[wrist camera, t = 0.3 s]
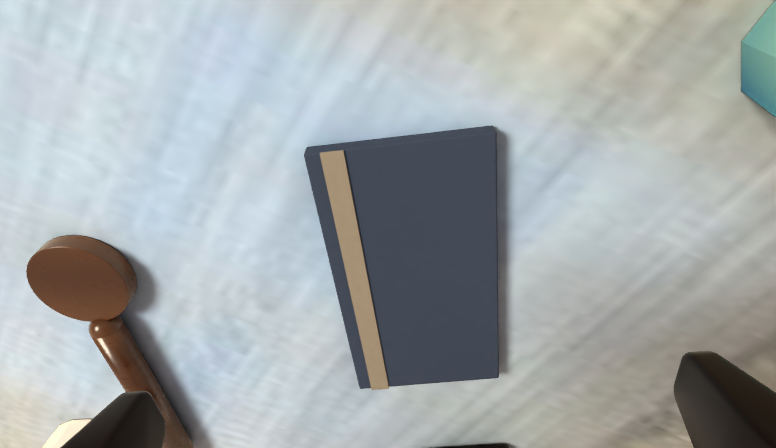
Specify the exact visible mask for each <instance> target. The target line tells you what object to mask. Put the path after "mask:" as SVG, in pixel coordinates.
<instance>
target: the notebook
mask: <svg viewBox="0 0 776 448" xmlns="http://www.w3.org/2000/svg"><path fill="white" fill-rule="evenodd" d="M304 157H305V161H306V166H307V170H308V174H309V178H310V182H311V186H312V191H313V195H314V199H315V203H316V207H317V212H318V216H319V220H320V224H321V228H322V232H323V237H324V241H325V245H326V249H327V253H328V257H329V262H330V266H331V270H332V274H333V278H334V282H335V287H336V291H337V295H338V299H339V303H340V307H341V312H342V316H343V320H344V324H345V328H346V333H347V337H348V341H349V345H350V349H351V353H352V358H353V362H354V366H355V370H356V374H357V378H358V383H359V387H360V389H364V388H371V389H372V390H376V389H389V386H402V385H414V384H427V383H440V382H452V381H465V380H478V379H490V378H498V377H499V359H498V253H497V146H496V131H495V129H494V127H493V126H485V127H476V128H468V129H459V130H451V131H442V132H433V133H425V134H416V135H408V136H399V137H391V138H382V139H373V140H365V141H356V142H348V143H339V144H330V145H322V146H313V147H307V148H306V151H305V154H304Z"/></svg>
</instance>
